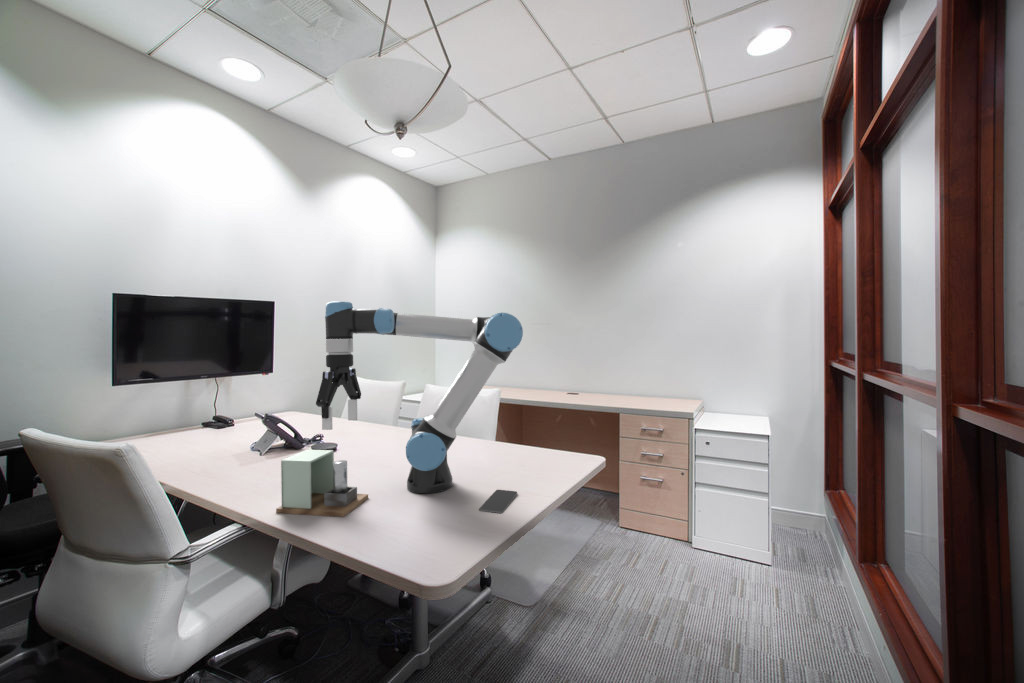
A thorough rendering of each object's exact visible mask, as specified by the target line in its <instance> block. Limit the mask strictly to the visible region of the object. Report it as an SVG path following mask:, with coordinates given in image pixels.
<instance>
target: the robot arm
mask: <svg viewBox="0 0 1024 683" xmlns="http://www.w3.org/2000/svg"><path fill="white" fill-rule="evenodd" d="M324 319H325V352H326V353H327V355H326V356H325V366H326V367H327V368H329V370H328V371H327V370H326V371H325V370H324V371H322V377H321V378H322V379H321V382H320V387H319V390H318V394H317V397H316V401H315V405H316V406H317V407H318V408H321V430H322V431H323V430H324V431H331V430H333V406H332V405H331V404H332V402H333V400H334V397H335V394H336V393H337V390H338V388H339V387H340V386H342V387H343V388H344V390H345V393H346V394H347V396H348V398H349V399H347V420H348V421H353V422H354V421H358V400H361V398H362V397H361V396H362V391H361V388H360V384H359V381H358V377H357V374H356V373H357V371H356V368H354V367H353V366H354V355H353V352H354V340H353V339H354V334H355V335H356V334H368V335H369V334H374V335H382V336H384V335H387V336H401V337H411V338H412V337H413V338H424V339H425V338H426V339H436V340H437V339H438V340H450V341H462V342H470V343H472V345H473V346H474V350H473V351H472V352H471V354H470V356H469V357H468V359H467V360H466V362H465V364H464V365H463V366H462V368H461V370H460V371H459V373H458V374H457V375H456V377H455V379H454V380H453V382H452V383H451V385H450V386H449V388H448V389H447V391H446V393H445V394H444V396H443V397H442V399H441V400H440V401H439V403H438V405H437V406H436V407H435V409H434V411H433V412H432V413H431V414H429V415H425V416H424V417H420V418H419V417H418V418H414V419H413V420H411V425H410V427H411V436H410V438H409V440H407V443H406V446H405V456H406V459H407V462H408V463H409V464H410V465H411V467H410V470H409V473H408V477H407V480H406V489H407V491H409V492H412V493H416V494H436V493H441V492H444V491H446V490H448V489H450V488H451V487H453V475H452V472H451V469H450V466H449V463H448V451H449V449H450V447H451V446H452V445H453V443H454V441H455V440H456V438H457V433H456V429H457V428H458V426H459V424H460V423H461V422H462V420H463V418H464V417H465V415H466V414H467V412H468V411H469V410H470V408H471V406H472V404H474V401H475V400H476V399H477V397H478V396H479V394H480V392H481V391H482V389H483V388H484V386H485V385H486V383H487V382H488V380H489V379H490V378H491V376H492V374H493V373H494V371H495V369H496V368H497V366H498V365H500V364H504V363H506V361H508V359H509V357H510V355H511V353H512V352H513V350H515V349H516V348H518V347H519V345H520V344H521V342H522V340H523V336H524V335H523V334H524V330H523V329H524V328H523V326H522V323H521V322H520V320H519V319H518V318H517V317H516V316H515V315H513V314H511V313H508V312H497V313H495V314H493V315H491V316H488V317H483V316H481V317H480V316H476V317H475V318H473V319H472V318H459V317H449V316H448V317H446V316H438V315H437V316H436V315H426V314H412V313H403V312H402V313H401V312H394V310H393V309H391V308H382V307H379V308H354V307H353V303H352V302H350V301H329V302H327V303H326V305H325V316H324ZM351 367H353V368H351Z"/></svg>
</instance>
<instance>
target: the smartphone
mask: <svg viewBox="0 0 1024 683" xmlns="http://www.w3.org/2000/svg"><path fill="white" fill-rule="evenodd" d="M517 494H518V491H515V490H506V489H496V490H495V491H494V492H493V493H492V494H491V495H490V496H489V497H488V498H487V500H486V501H485V502H484V503H482V505H481V506H480V507H479V509H478V511H479V512H484V513H491V514H500V515H501V514H503V513H504V512H505V510H506V509H507V508H508V506H510V504H511V503H512V501H513V500H514V499H515V497H516V496H517Z"/></svg>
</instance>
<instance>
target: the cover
mask: <svg viewBox="0 0 1024 683" xmlns="http://www.w3.org/2000/svg"><path fill="white" fill-rule="evenodd" d="M334 452H335V451H334V450H333V449H328V450H327V449H306V450H303V451H301V452H298V453H296V454H293V455H291V456H289V457H286V458H283V459H281V461H280V463H281V464H280V465H281V466H280V470H281V473H280V474H281V475H280V476H281V478H280V479H281V481H280V482H281V506H282V507H289V508H306V509H310V508H311V493H320V494H325V493H327V492H328V491H330V490H331V489H333V462H335V453H334Z"/></svg>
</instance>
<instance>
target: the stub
mask: <svg viewBox="0 0 1024 683" xmlns="http://www.w3.org/2000/svg"><path fill="white" fill-rule="evenodd" d="M348 487H349V486H348V460H345V459H342V460H341V459H339V460H334V462H333V493H338V494H345V493H346V492H348Z"/></svg>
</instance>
